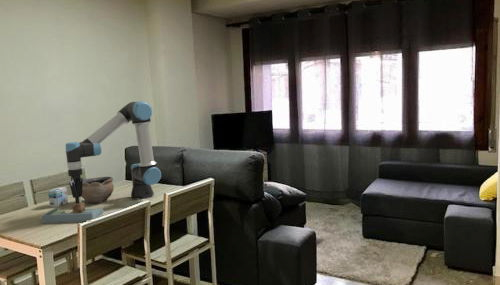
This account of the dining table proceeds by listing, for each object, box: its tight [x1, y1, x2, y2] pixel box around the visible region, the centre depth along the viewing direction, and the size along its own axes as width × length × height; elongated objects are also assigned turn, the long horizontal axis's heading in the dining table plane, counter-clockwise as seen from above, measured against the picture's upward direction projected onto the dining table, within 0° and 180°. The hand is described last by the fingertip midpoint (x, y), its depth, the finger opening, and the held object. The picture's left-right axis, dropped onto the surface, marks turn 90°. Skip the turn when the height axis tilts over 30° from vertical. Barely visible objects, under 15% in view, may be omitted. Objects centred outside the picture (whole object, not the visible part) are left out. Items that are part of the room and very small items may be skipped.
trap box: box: [41, 207, 104, 224], centre depth 243 cm, size 29×16×4 cm, turn 87°
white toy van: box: [47, 186, 69, 208], centre depth 275 cm, size 11×7×11 cm, turn 168°
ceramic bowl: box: [81, 176, 114, 204], centre depth 279 cm, size 22×22×15 cm
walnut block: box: [71, 202, 86, 214], centre depth 243 cm, size 5×5×5 cm
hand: (79, 207), depth 247 cm, fingers closed
